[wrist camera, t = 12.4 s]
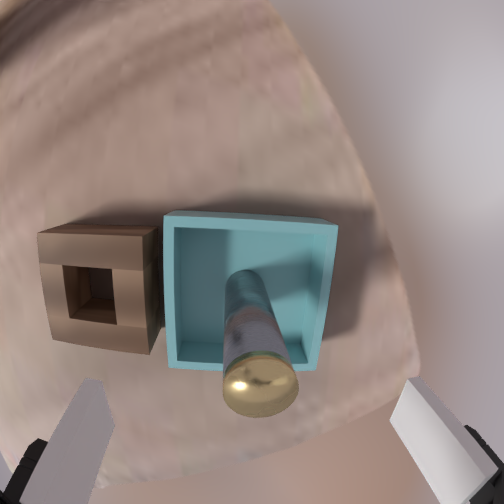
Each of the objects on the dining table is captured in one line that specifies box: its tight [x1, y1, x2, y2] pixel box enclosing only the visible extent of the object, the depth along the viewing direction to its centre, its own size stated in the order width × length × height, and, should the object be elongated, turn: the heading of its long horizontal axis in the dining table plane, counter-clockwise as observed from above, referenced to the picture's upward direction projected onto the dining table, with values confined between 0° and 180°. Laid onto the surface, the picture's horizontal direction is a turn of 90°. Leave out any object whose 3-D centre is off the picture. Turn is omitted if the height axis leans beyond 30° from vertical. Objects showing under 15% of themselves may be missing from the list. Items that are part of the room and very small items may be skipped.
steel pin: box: [223, 270, 299, 418], centre depth 19 cm, size 4×4×14 cm
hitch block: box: [37, 224, 161, 355], centre depth 23 cm, size 10×10×5 cm
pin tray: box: [163, 210, 338, 371], centre depth 25 cm, size 13×13×4 cm
